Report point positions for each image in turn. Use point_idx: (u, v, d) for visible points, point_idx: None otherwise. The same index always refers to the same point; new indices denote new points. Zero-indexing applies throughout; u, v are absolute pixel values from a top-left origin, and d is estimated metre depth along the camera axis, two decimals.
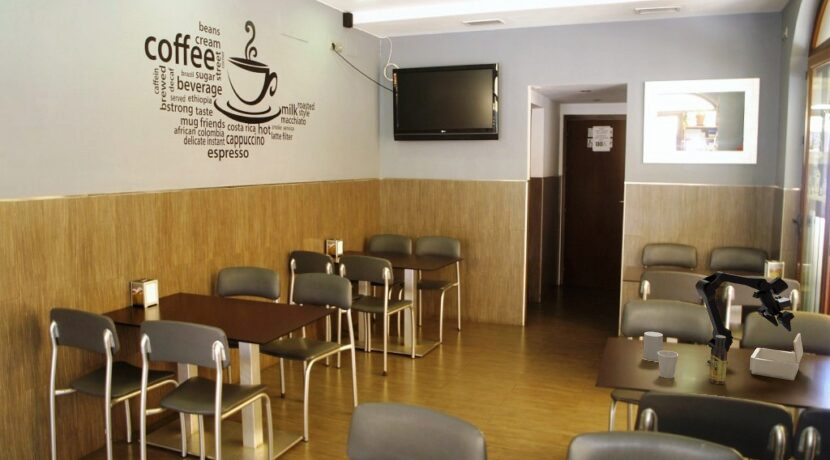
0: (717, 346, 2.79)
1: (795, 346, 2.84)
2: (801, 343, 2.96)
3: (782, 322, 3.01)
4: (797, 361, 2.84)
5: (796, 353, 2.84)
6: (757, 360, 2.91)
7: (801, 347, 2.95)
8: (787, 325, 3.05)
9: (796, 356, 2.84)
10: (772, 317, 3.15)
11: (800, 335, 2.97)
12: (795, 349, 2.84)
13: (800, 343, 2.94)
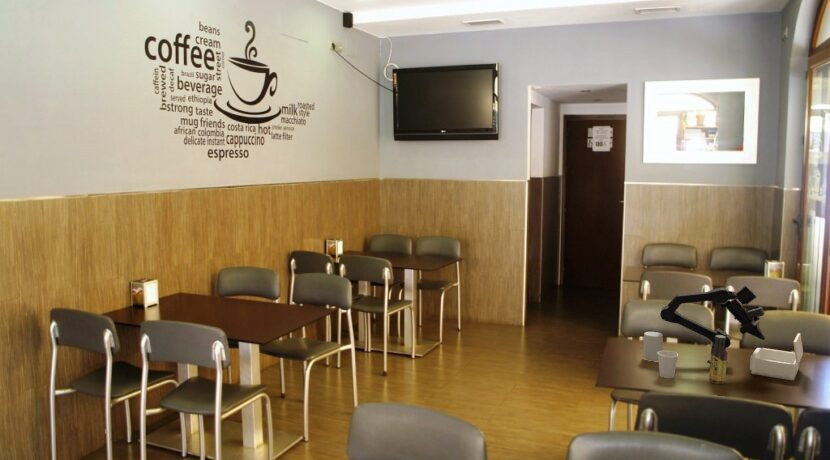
0: (717, 346, 2.79)
1: (795, 346, 2.84)
2: (801, 343, 2.96)
3: (741, 332, 2.95)
4: (797, 361, 2.84)
5: (796, 353, 2.84)
6: (757, 360, 2.91)
7: (801, 347, 2.95)
8: (756, 333, 2.99)
9: (796, 356, 2.84)
10: None
11: (800, 335, 2.97)
12: (795, 349, 2.84)
13: (800, 343, 2.94)
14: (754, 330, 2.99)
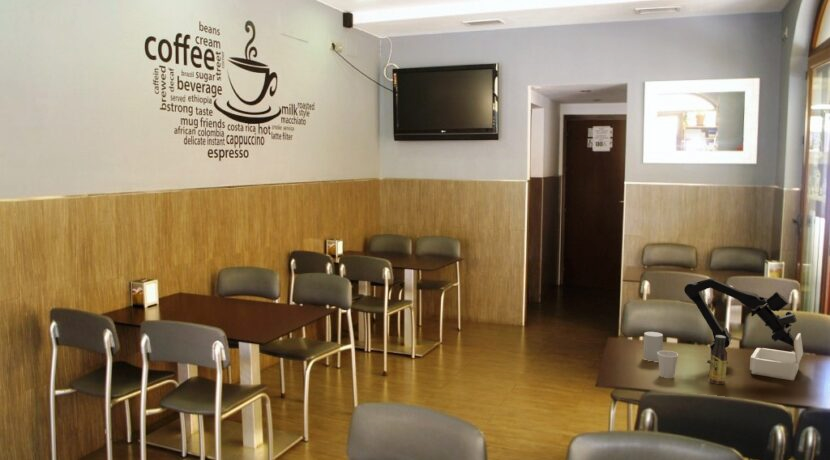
0: (717, 346, 2.79)
1: (795, 346, 2.84)
2: (801, 343, 2.96)
3: None
4: (797, 361, 2.84)
5: (796, 353, 2.84)
6: (757, 360, 2.91)
7: (801, 347, 2.95)
8: (788, 340, 2.92)
9: (796, 356, 2.84)
10: None
11: (800, 335, 2.97)
12: (795, 349, 2.84)
13: (800, 343, 2.94)
14: (786, 337, 2.92)
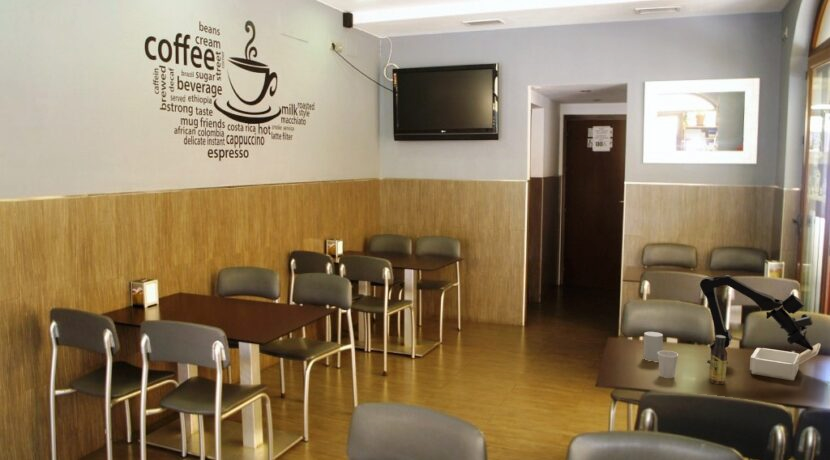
0: (717, 346, 2.79)
1: (812, 355, 2.81)
2: None
3: (789, 342, 2.85)
4: (798, 363, 2.84)
5: (806, 359, 2.82)
6: (757, 360, 2.91)
7: None
8: (804, 343, 2.88)
9: (803, 360, 2.83)
10: None
11: None
12: (809, 357, 2.81)
13: None
14: (802, 340, 2.89)
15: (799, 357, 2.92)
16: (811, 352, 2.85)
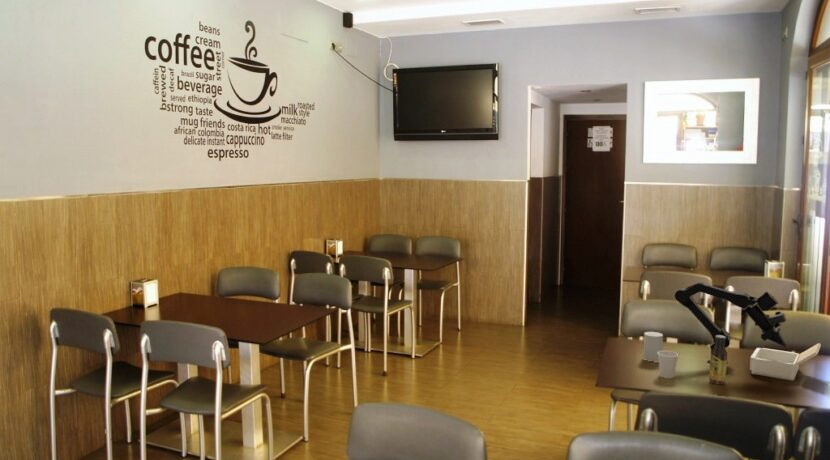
0: (717, 346, 2.79)
1: (812, 355, 2.81)
2: None
3: None
4: (798, 363, 2.84)
5: (806, 359, 2.82)
6: (757, 360, 2.91)
7: None
8: (777, 340, 2.94)
9: (803, 360, 2.83)
10: None
11: None
12: (809, 357, 2.81)
13: None
14: (775, 336, 2.94)
15: (799, 357, 2.92)
16: (811, 352, 2.85)
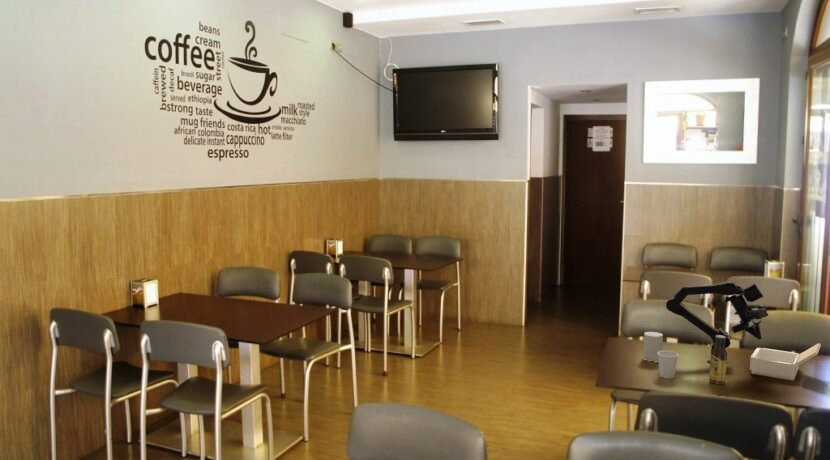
0: (717, 346, 2.79)
1: (812, 355, 2.81)
2: None
3: None
4: (798, 363, 2.84)
5: (806, 359, 2.82)
6: (757, 360, 2.91)
7: None
8: (752, 332, 3.00)
9: (803, 360, 2.83)
10: None
11: None
12: (809, 357, 2.81)
13: None
14: (751, 329, 3.00)
15: (799, 357, 2.92)
16: (811, 352, 2.85)
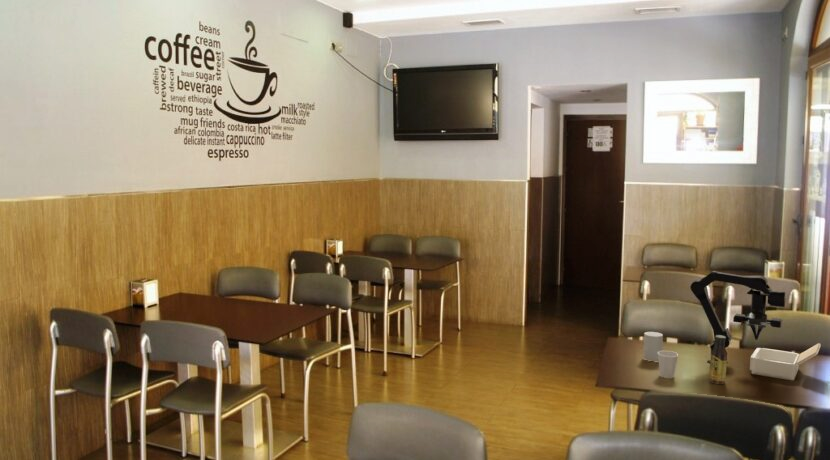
0: (717, 346, 2.79)
1: (812, 355, 2.81)
2: None
3: None
4: (798, 363, 2.84)
5: (806, 359, 2.82)
6: (757, 360, 2.91)
7: None
8: None
9: (803, 360, 2.83)
10: (758, 329, 2.99)
11: None
12: (809, 357, 2.81)
13: None
14: None
15: (799, 357, 2.92)
16: (811, 352, 2.85)
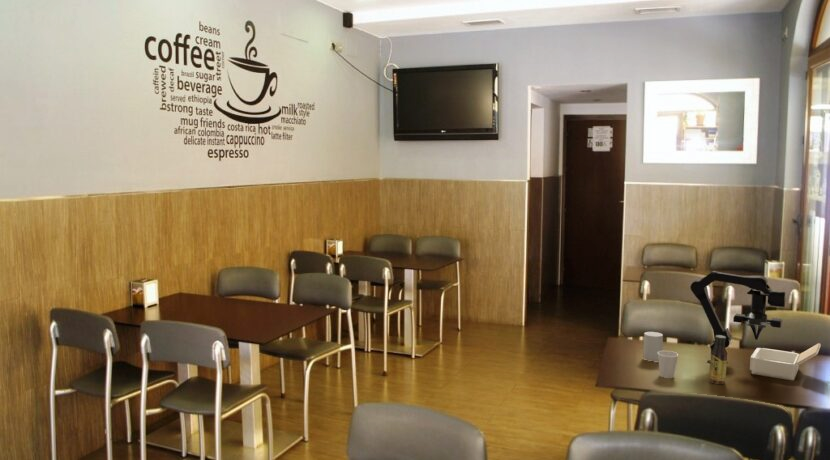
0: (717, 346, 2.79)
1: (812, 355, 2.81)
2: None
3: None
4: (798, 363, 2.84)
5: (806, 359, 2.82)
6: (757, 360, 2.91)
7: None
8: None
9: (803, 360, 2.83)
10: (758, 329, 2.99)
11: None
12: (809, 357, 2.81)
13: None
14: None
15: (799, 357, 2.92)
16: (811, 352, 2.85)
